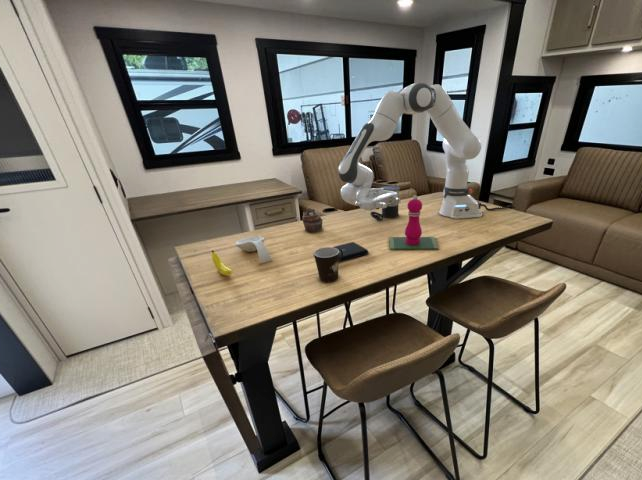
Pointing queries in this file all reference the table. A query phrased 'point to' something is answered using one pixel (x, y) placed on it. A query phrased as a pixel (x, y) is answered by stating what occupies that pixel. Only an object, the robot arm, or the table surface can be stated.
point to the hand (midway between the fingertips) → (393, 203)
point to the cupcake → (312, 221)
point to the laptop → (351, 251)
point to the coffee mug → (327, 263)
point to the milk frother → (388, 206)
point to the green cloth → (424, 244)
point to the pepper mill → (413, 222)
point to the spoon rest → (255, 247)
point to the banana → (220, 265)
